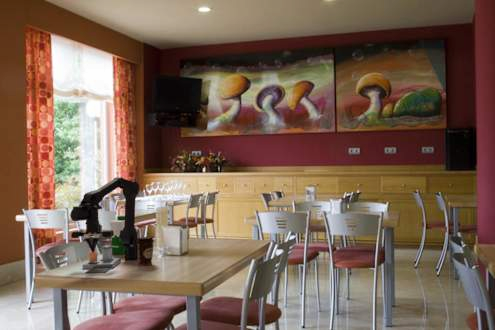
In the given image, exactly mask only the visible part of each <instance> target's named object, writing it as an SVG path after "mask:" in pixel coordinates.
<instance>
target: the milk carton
mask: <svg viewBox="0 0 495 330" xmlns="http://www.w3.org/2000/svg"><path fill="white" fill-rule="evenodd" d="M108 223H109V227H110V230H113V232H114V236H112V237H110V246H112V255H119V256H122V255H125V253H124V250H126V249H125V247H123V245H122V242H121V240H120V230H123V229H124V226H125V215H118V216H117V219H114V220H110V221H108Z"/></svg>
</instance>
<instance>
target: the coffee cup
mask: <svg viewBox="0 0 495 330" xmlns="http://www.w3.org/2000/svg"><path fill="white" fill-rule="evenodd" d="M154 241H155V240H154V237H153V236H140V237H138V240H137V241H136V243H137V246H138V258H139V259H138V265H139V266H150V265H153V261H152V260H153V254H154Z"/></svg>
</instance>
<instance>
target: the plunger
mask: <svg viewBox="0 0 495 330" xmlns="http://www.w3.org/2000/svg"><path fill="white" fill-rule="evenodd" d="M97 259H98V251H94V252H92V251H89V252H88V261H89V262H97Z"/></svg>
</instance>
